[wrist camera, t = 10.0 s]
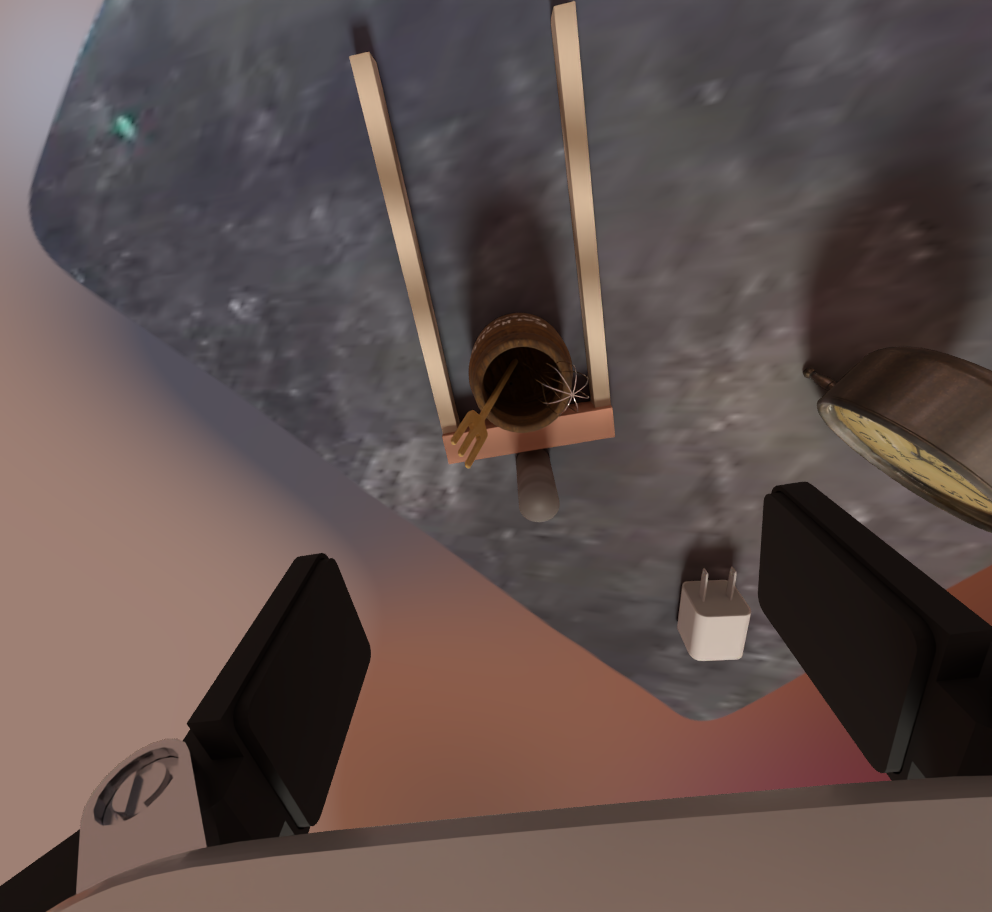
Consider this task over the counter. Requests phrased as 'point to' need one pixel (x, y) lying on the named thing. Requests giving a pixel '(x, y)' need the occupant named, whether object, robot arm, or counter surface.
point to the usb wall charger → (713, 618)
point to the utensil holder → (516, 379)
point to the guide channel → (596, 414)
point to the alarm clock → (919, 424)
